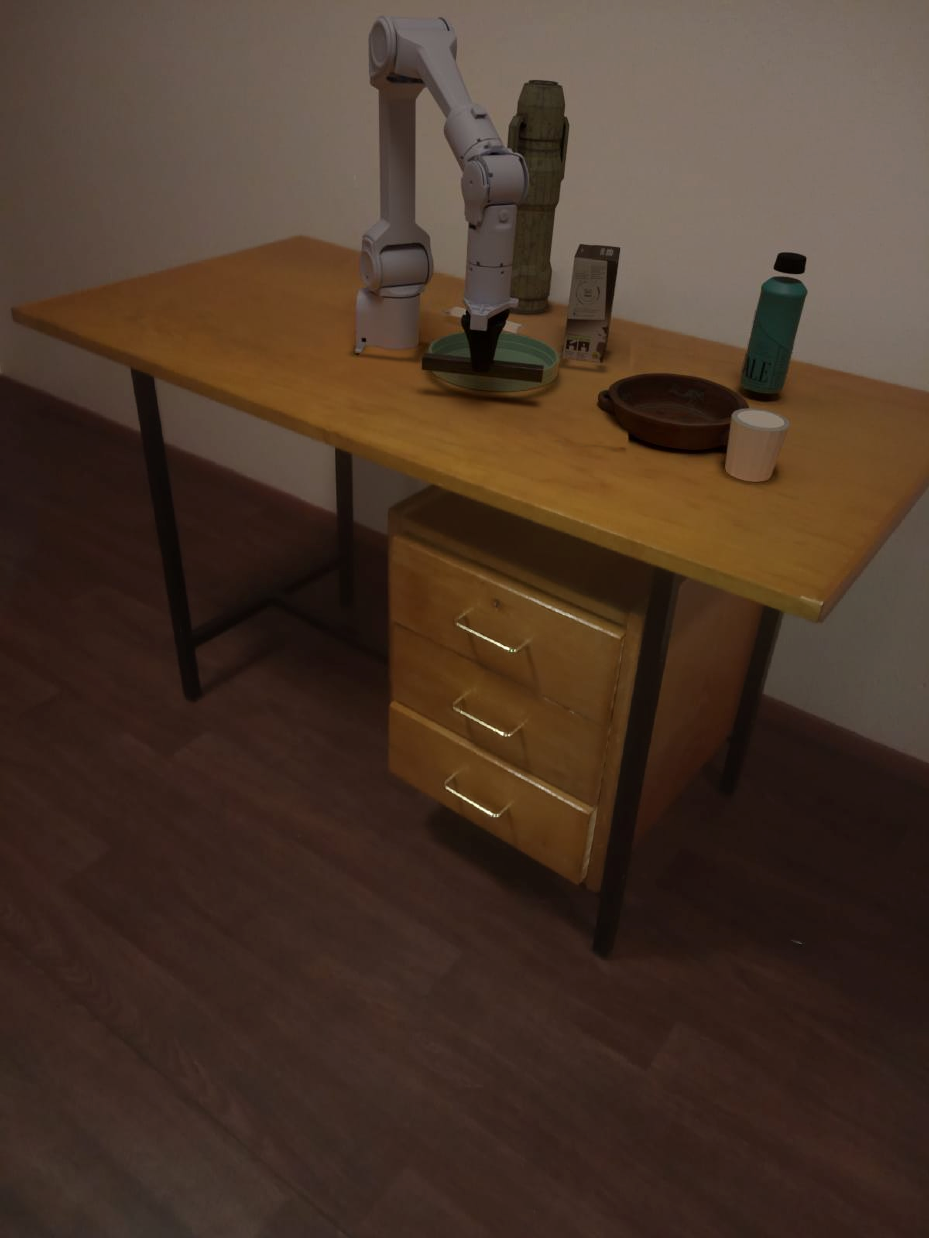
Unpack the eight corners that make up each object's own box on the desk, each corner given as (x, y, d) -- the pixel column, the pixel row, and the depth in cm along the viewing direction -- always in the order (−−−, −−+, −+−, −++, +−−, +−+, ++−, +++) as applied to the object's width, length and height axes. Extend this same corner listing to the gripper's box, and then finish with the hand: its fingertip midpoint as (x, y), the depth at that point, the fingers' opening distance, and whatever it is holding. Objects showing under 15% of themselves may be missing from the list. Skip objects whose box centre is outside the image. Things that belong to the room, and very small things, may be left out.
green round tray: (417, 391, 133) (417, 367, 131) (440, 347, 149) (441, 325, 147) (551, 406, 132) (554, 382, 130) (560, 360, 147) (563, 338, 145)
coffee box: (602, 371, 144) (618, 261, 135) (560, 365, 145) (572, 256, 136) (607, 351, 152) (622, 246, 143) (567, 346, 153) (579, 241, 143)
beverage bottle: (782, 391, 141) (818, 251, 130) (779, 407, 136) (817, 263, 125) (738, 384, 143) (770, 245, 132) (733, 399, 138) (766, 256, 126)
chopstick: (541, 383, 124) (543, 369, 123) (421, 370, 126) (421, 356, 125) (542, 378, 126) (544, 365, 125) (423, 365, 127) (424, 352, 126)
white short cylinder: (712, 459, 120) (724, 406, 116) (765, 460, 121) (778, 407, 117) (729, 483, 115) (742, 429, 111) (784, 484, 115) (799, 430, 111)
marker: (441, 320, 163) (519, 341, 155) (435, 316, 161) (514, 337, 153) (446, 305, 162) (525, 325, 155) (440, 301, 160) (519, 321, 153)
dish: (622, 392, 138) (628, 358, 135) (772, 431, 129) (781, 396, 126) (569, 431, 125) (573, 395, 122) (731, 477, 116) (740, 439, 113)
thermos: (563, 307, 170) (589, 84, 150) (519, 319, 163) (540, 86, 143) (527, 295, 175) (547, 77, 155) (482, 306, 168) (497, 79, 148)
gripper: (515, 280, 111) (505, 391, 119) (527, 250, 123) (518, 353, 131) (455, 274, 112) (450, 385, 120) (473, 245, 124) (467, 348, 132)
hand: (482, 368), depth 125 cm, fingers closed on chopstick, 2 cm apart
